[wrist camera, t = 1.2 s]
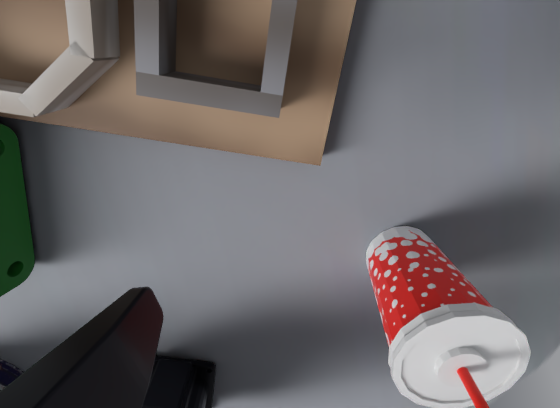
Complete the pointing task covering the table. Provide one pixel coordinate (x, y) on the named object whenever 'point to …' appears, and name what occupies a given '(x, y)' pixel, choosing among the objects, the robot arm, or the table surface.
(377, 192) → the table surface
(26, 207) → the clamp
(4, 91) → the socket board
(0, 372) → the storage jar
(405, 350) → the beverage cup
